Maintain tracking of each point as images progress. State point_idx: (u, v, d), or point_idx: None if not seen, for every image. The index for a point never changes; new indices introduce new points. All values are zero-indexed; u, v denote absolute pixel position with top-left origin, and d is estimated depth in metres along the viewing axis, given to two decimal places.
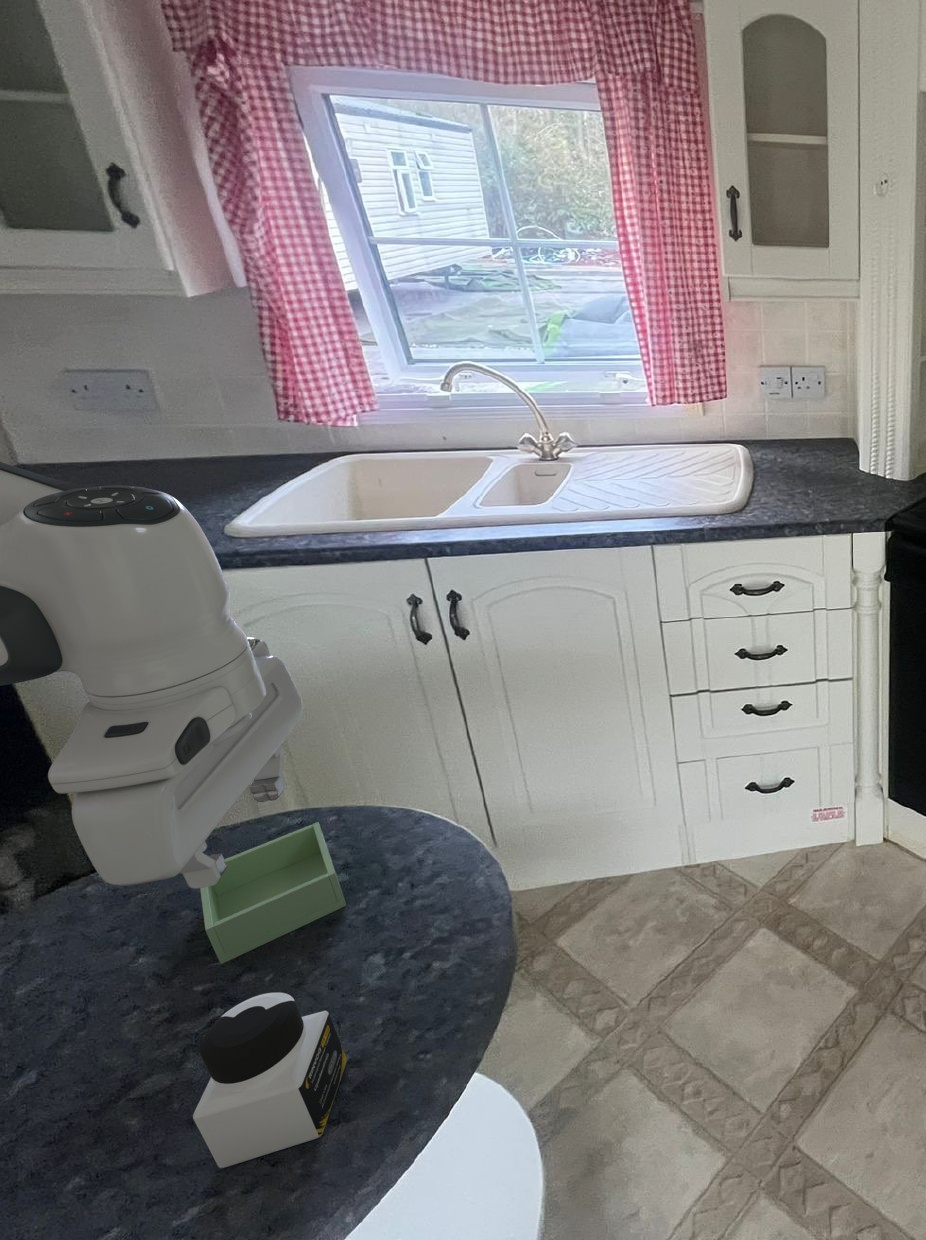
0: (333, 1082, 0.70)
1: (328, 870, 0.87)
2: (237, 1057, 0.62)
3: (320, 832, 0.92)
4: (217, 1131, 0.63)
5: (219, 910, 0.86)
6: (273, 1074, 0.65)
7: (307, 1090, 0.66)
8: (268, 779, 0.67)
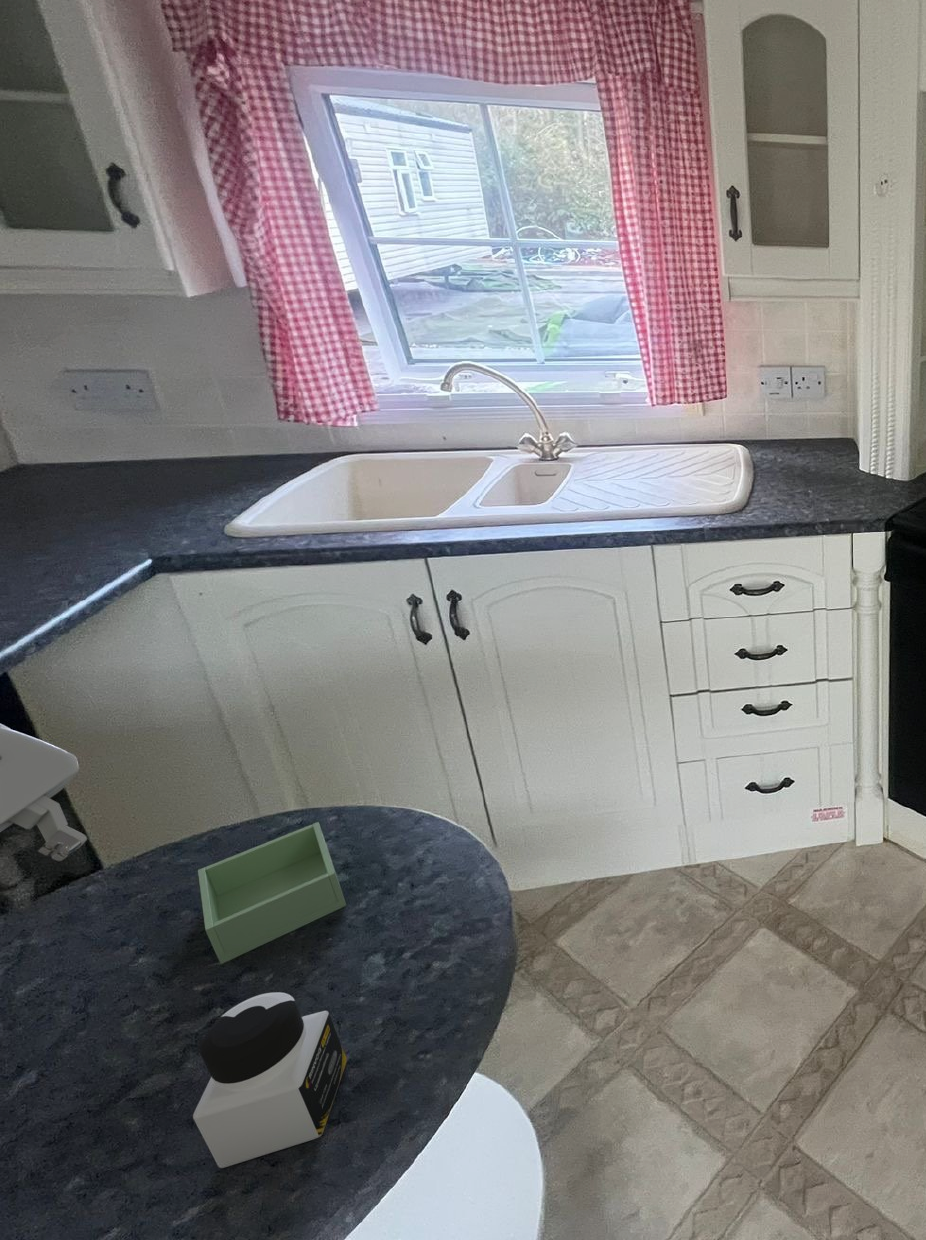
0: (333, 1082, 0.70)
1: (328, 870, 0.87)
2: (237, 1056, 0.62)
3: (320, 832, 0.92)
4: (217, 1131, 0.63)
5: (219, 910, 0.86)
6: (273, 1074, 0.65)
7: (307, 1090, 0.66)
8: None
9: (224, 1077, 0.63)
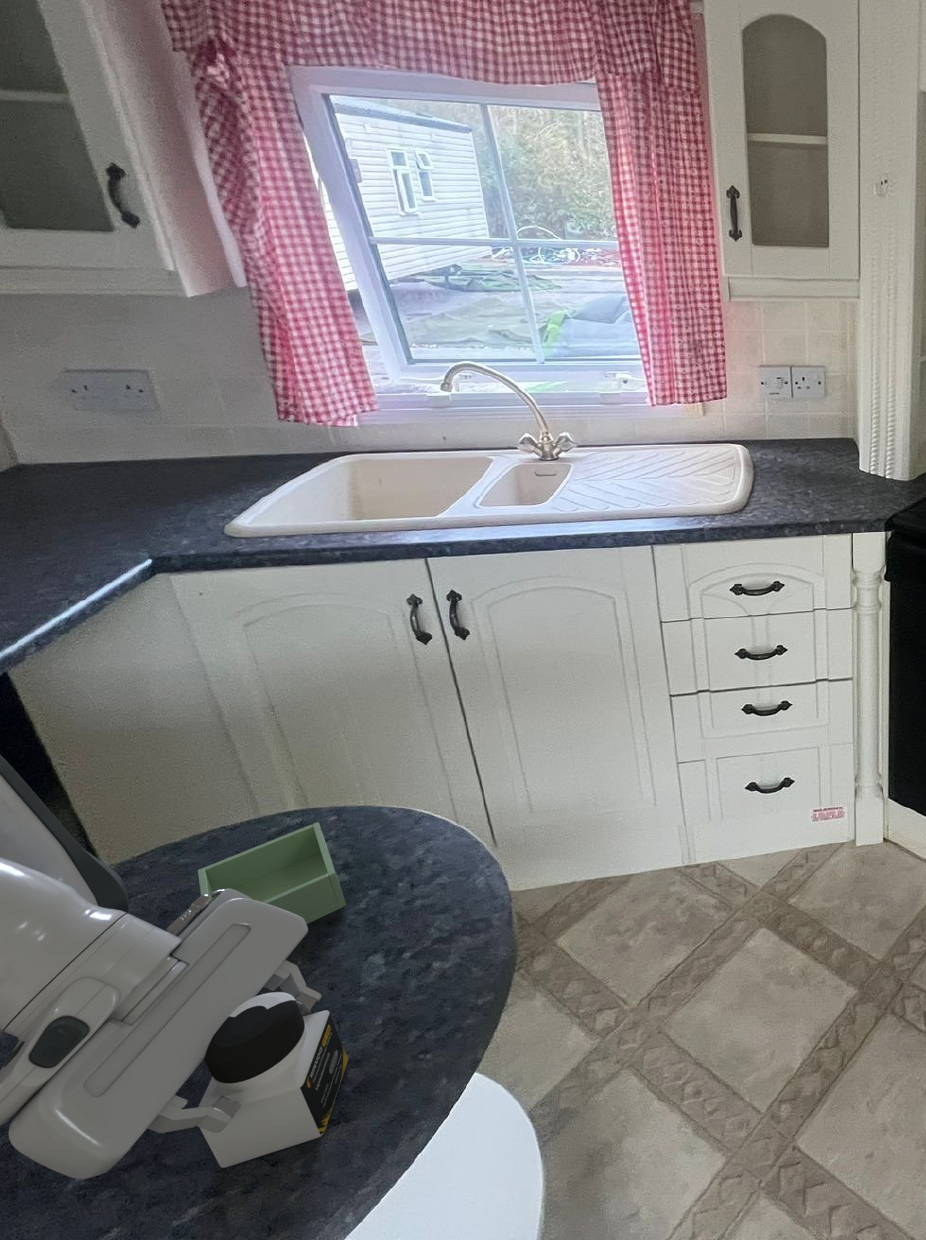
0: (335, 1082, 0.70)
1: (328, 870, 0.87)
2: (238, 1056, 0.62)
3: (320, 832, 0.92)
4: None
5: None
6: (274, 1073, 0.65)
7: (309, 1090, 0.66)
8: None
9: (225, 1077, 0.63)
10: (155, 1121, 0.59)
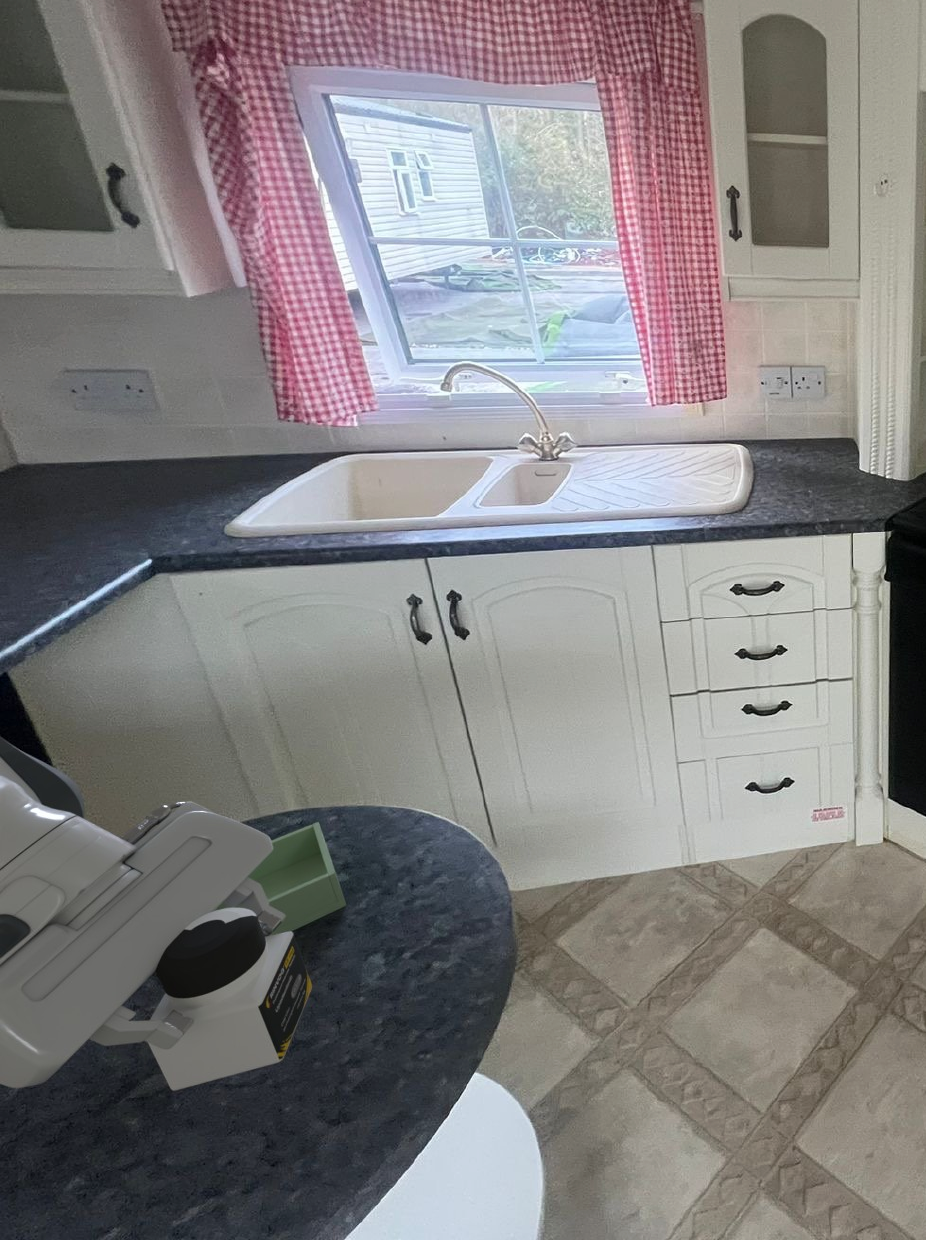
0: (297, 1007, 0.66)
1: (328, 870, 0.87)
2: (192, 969, 0.58)
3: (320, 832, 0.92)
4: (169, 1049, 0.59)
5: None
6: (231, 991, 0.61)
7: (268, 1010, 0.62)
8: None
9: (178, 991, 0.59)
10: (99, 1032, 0.55)
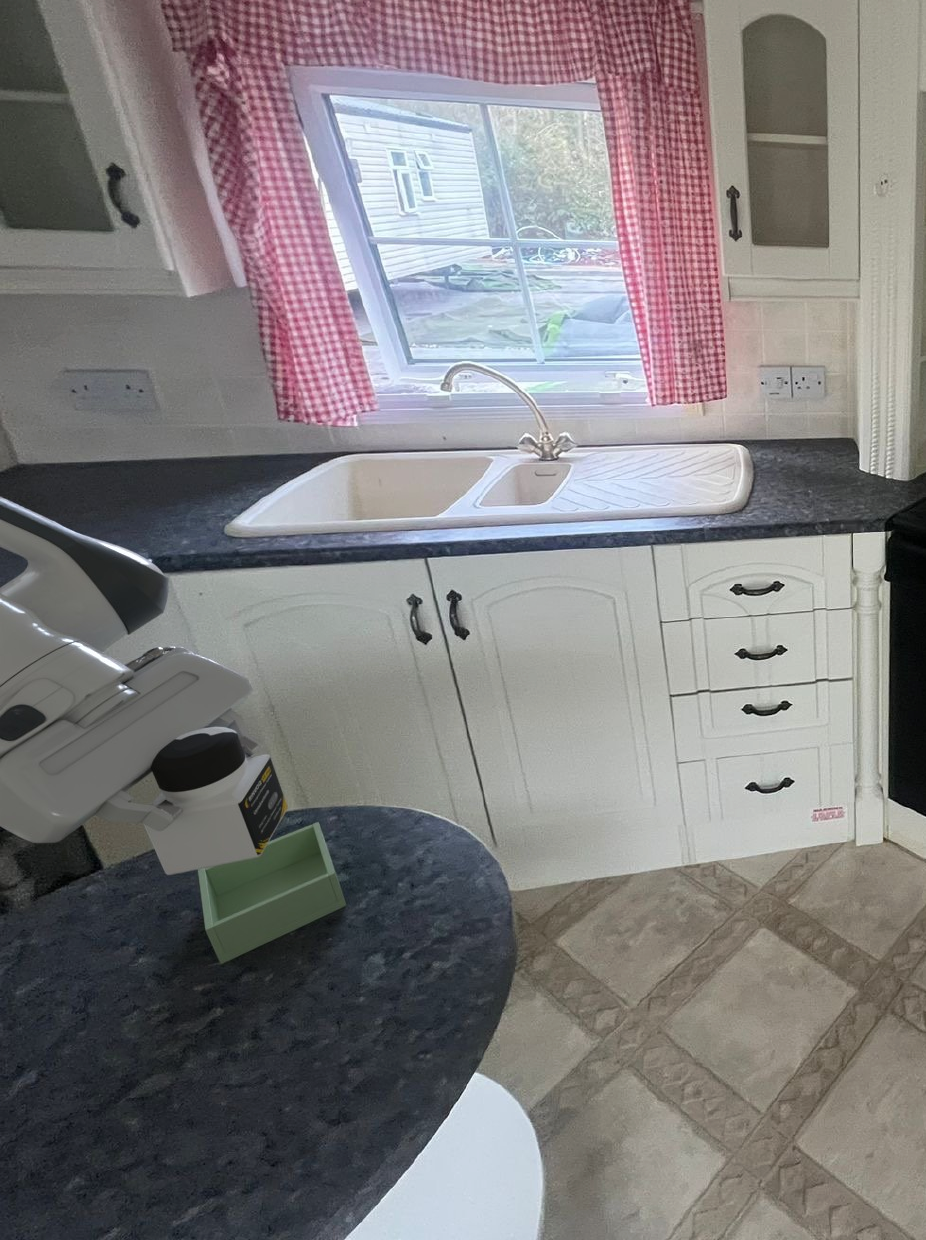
0: (273, 818, 0.77)
1: (328, 870, 0.87)
2: (182, 766, 0.70)
3: (320, 832, 0.92)
4: (164, 836, 0.71)
5: (219, 910, 0.86)
6: (215, 791, 0.72)
7: (247, 809, 0.73)
8: None
9: (170, 785, 0.70)
10: (103, 809, 0.66)
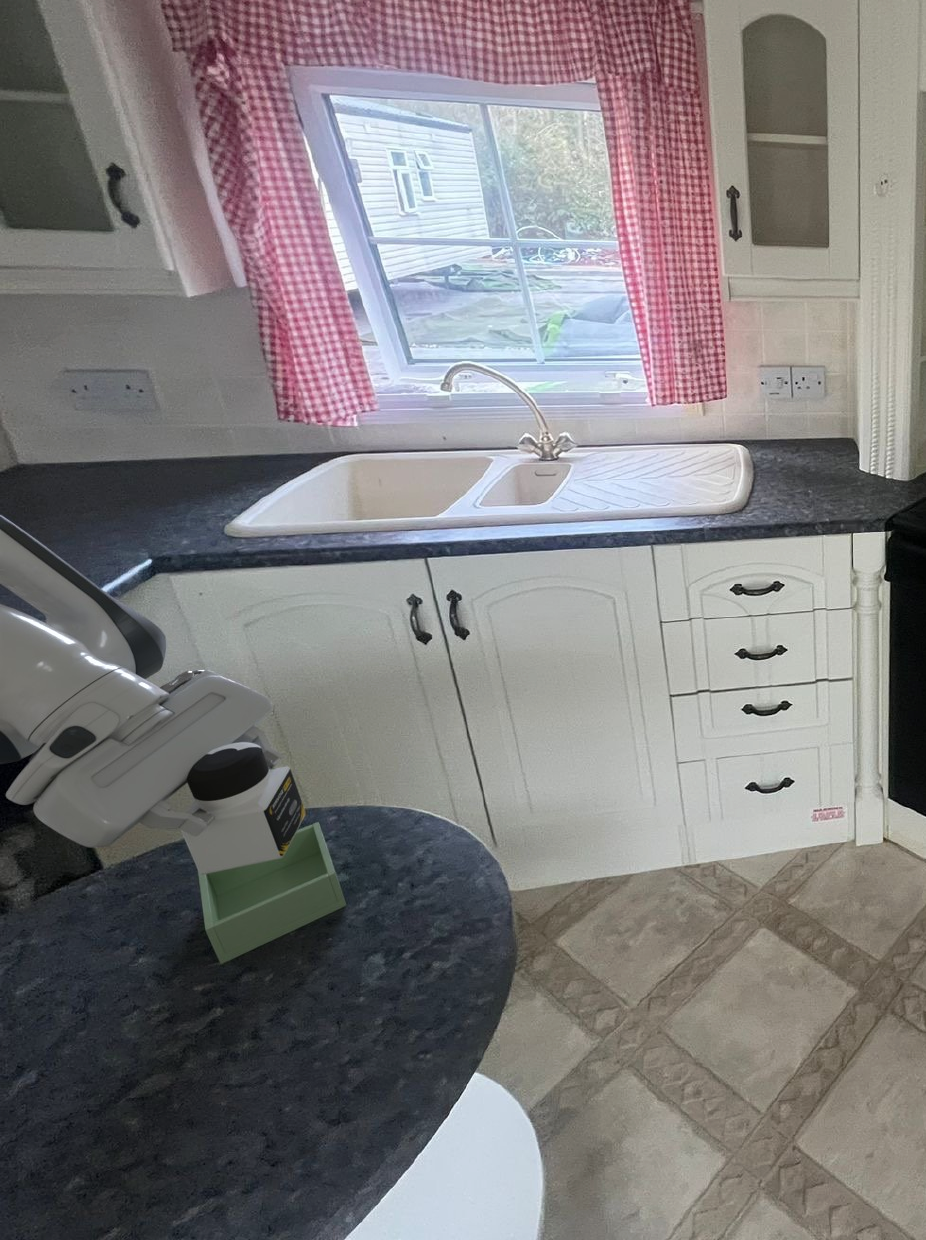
0: (294, 823, 0.86)
1: (328, 870, 0.87)
2: (214, 778, 0.79)
3: (320, 832, 0.92)
4: (198, 840, 0.80)
5: (219, 910, 0.86)
6: (243, 799, 0.81)
7: (271, 816, 0.82)
8: None
9: (203, 795, 0.79)
10: (147, 816, 0.75)
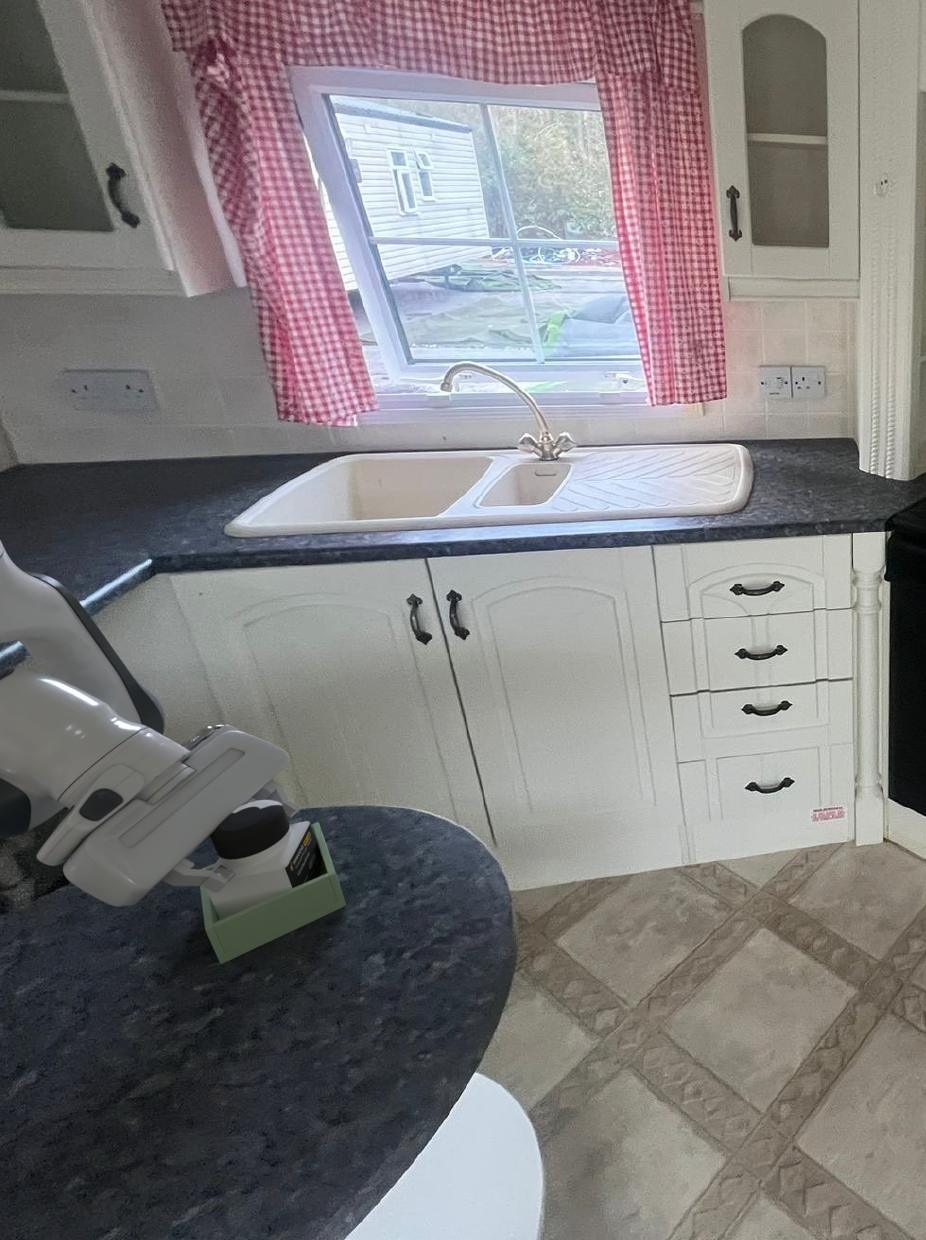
0: (313, 876, 0.89)
1: (328, 870, 0.87)
2: (238, 837, 0.82)
3: (320, 832, 0.92)
4: (222, 896, 0.82)
5: None
6: (265, 857, 0.84)
7: (292, 872, 0.85)
8: None
9: (228, 854, 0.82)
10: (170, 875, 0.78)
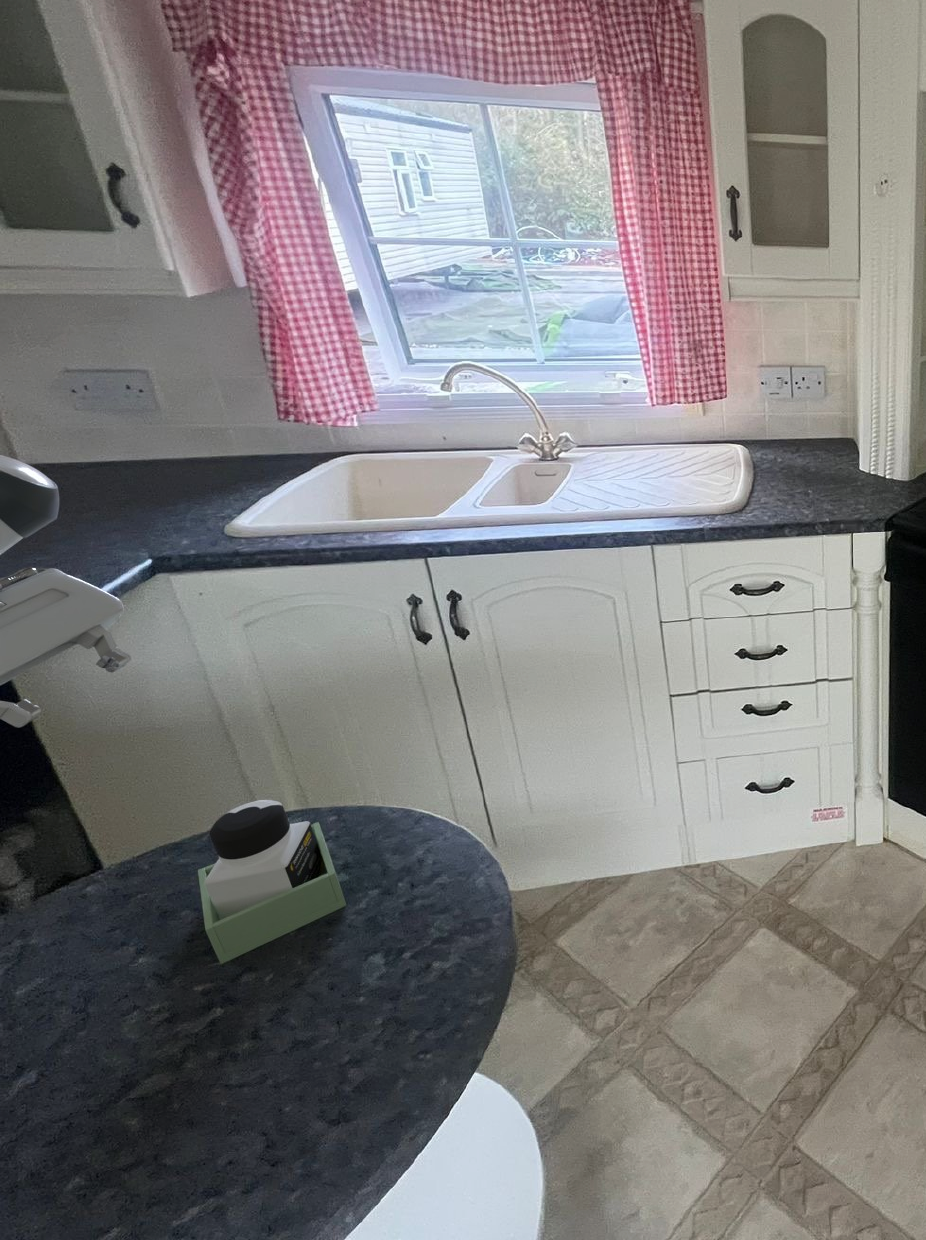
0: (313, 876, 0.89)
1: (328, 870, 0.87)
2: (238, 837, 0.82)
3: (320, 832, 0.92)
4: (222, 896, 0.82)
5: None
6: (265, 857, 0.84)
7: (292, 872, 0.85)
8: None
9: (228, 854, 0.82)
10: None
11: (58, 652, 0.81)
